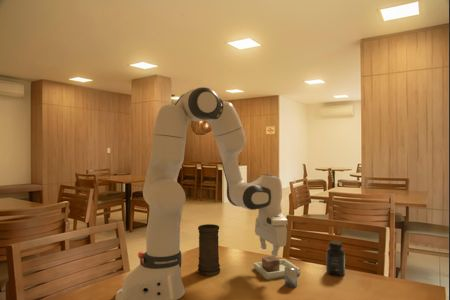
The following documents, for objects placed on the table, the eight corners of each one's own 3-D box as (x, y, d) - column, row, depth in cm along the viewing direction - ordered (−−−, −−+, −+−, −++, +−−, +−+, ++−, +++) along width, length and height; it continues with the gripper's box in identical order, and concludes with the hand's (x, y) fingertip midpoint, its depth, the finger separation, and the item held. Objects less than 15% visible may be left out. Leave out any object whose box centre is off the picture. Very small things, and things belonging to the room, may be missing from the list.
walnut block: (267, 274, 127) (267, 261, 127) (262, 270, 132) (262, 257, 132) (279, 273, 129) (279, 260, 128) (273, 268, 133) (273, 256, 133)
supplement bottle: (348, 274, 129) (348, 243, 129) (335, 278, 126) (335, 246, 126) (335, 268, 135) (335, 239, 135) (322, 272, 132) (322, 241, 132)
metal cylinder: (288, 288, 117) (288, 271, 117) (282, 283, 121) (282, 267, 121) (299, 286, 118) (299, 269, 118) (293, 281, 122) (293, 265, 122)
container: (217, 276, 127) (217, 229, 127) (194, 275, 129) (194, 228, 129) (222, 268, 136) (222, 224, 136) (201, 266, 138) (200, 223, 138)
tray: (267, 279, 124) (267, 273, 124) (253, 268, 135) (253, 262, 135) (300, 275, 129) (300, 268, 129) (284, 264, 140) (284, 258, 140)
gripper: (251, 211, 139) (250, 245, 139) (274, 222, 119) (273, 261, 119) (265, 211, 141) (264, 244, 141) (290, 221, 121) (289, 259, 121)
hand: (268, 252), depth 130 cm, fingers open, 8 cm apart
